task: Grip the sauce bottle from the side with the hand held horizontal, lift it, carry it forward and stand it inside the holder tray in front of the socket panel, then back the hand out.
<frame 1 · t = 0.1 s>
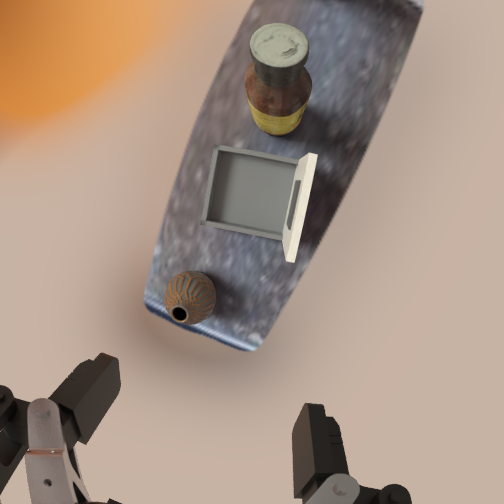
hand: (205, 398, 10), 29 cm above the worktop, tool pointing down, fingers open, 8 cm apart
sauce bottle: (276, 114, 34), on the worktop
vase: (197, 287, 41), on the worktop
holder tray: (253, 191, 37), on the worktop
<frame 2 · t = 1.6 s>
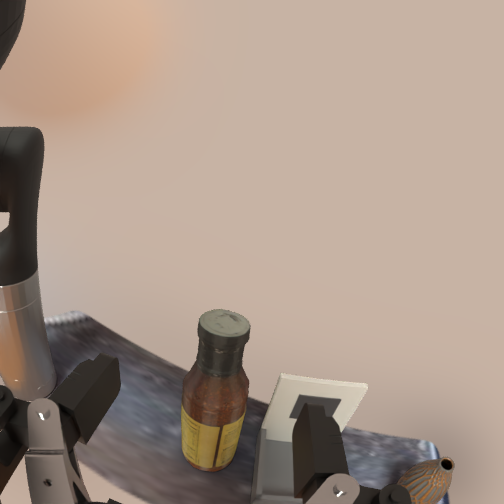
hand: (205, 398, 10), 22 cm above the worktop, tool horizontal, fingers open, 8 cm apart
sauce bottle: (205, 454, 27), on the worktop
vase: (405, 500, 20), on the worktop
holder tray: (295, 473, 26), on the worktop
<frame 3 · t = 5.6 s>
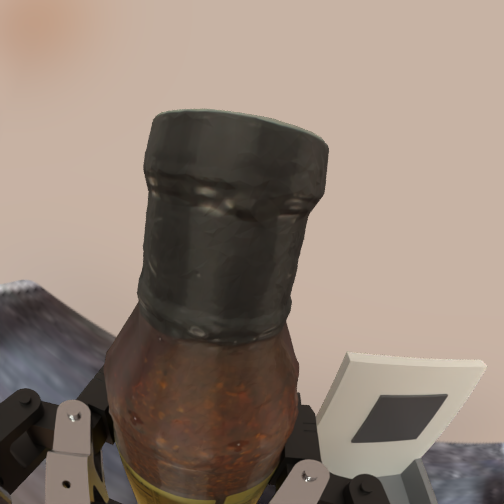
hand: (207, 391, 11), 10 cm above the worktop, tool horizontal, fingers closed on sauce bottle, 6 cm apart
when the fingers open (12 cm above the worktop, at t = 11.3 s): sauce bottle drops 1 cm, resting on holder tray.
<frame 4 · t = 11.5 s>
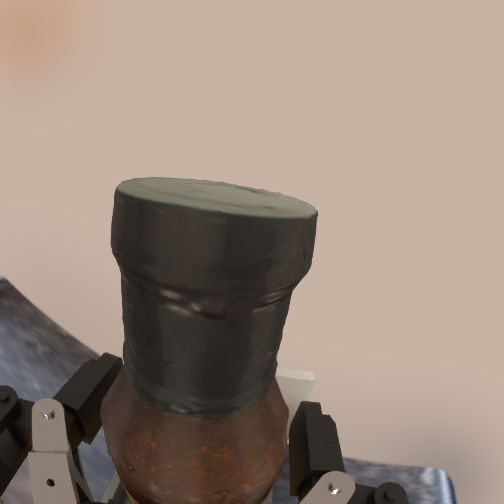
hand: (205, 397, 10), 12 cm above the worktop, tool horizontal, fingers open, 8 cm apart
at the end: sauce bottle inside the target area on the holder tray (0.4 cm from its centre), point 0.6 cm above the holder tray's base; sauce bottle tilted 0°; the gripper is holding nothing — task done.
